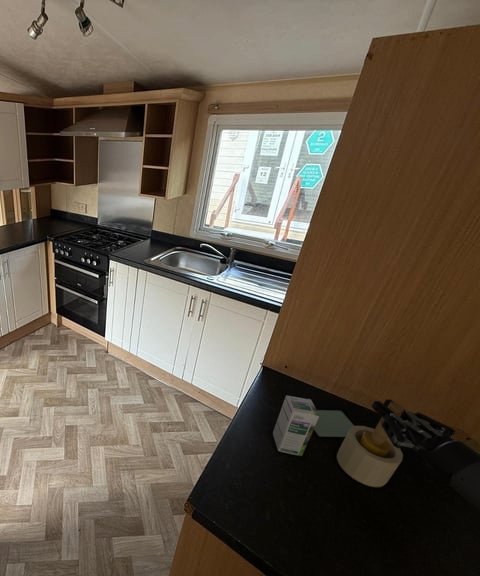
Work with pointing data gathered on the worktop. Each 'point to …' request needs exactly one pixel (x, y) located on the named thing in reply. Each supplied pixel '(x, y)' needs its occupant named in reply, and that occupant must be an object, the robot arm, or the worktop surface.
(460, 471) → the robot arm
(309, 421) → the syrup box
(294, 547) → the worktop surface
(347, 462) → the cream tape roll
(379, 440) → the sponge brush
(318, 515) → the worktop surface
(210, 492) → the worktop surface
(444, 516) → the worktop surface
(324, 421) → the grey hexagonal plate
